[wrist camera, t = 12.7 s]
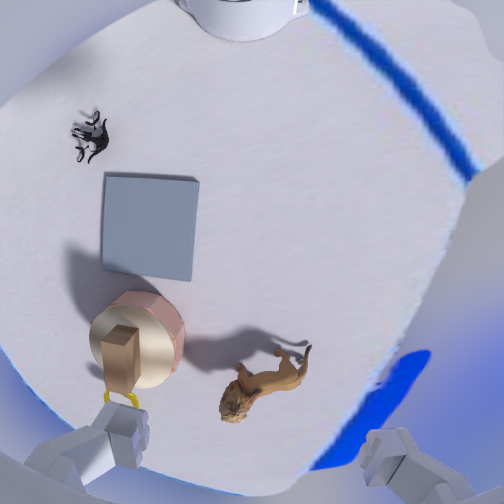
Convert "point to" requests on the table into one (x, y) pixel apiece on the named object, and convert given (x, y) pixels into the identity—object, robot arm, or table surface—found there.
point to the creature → (94, 139)
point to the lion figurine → (260, 386)
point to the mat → (150, 227)
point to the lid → (131, 348)
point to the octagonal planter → (158, 316)
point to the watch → (131, 396)
